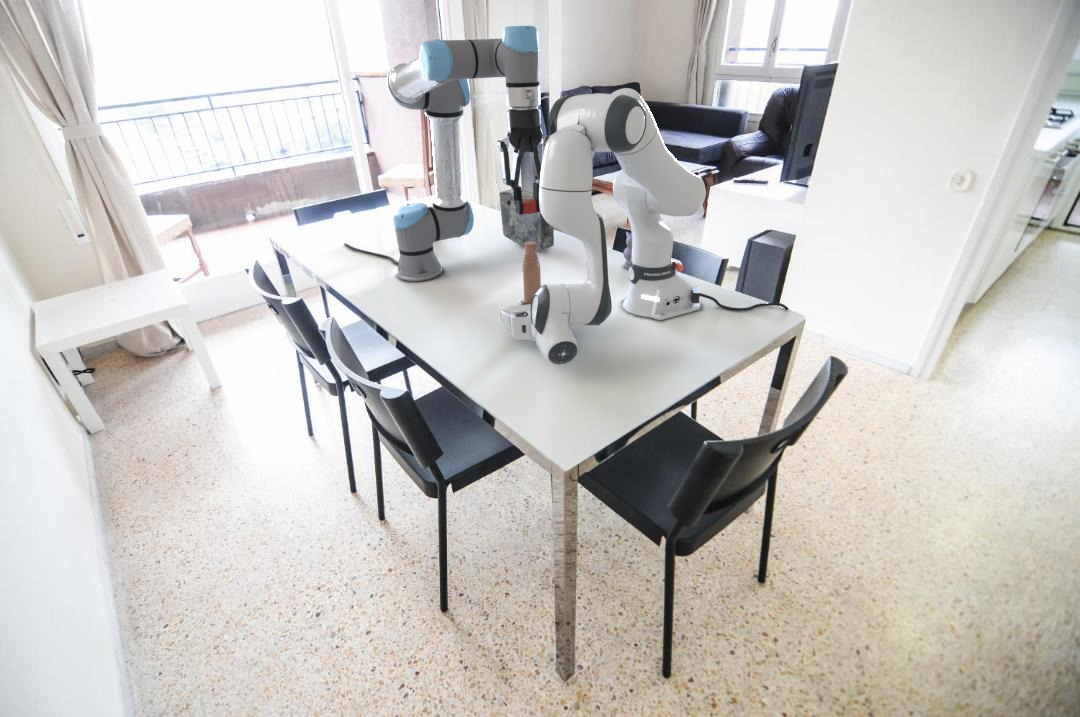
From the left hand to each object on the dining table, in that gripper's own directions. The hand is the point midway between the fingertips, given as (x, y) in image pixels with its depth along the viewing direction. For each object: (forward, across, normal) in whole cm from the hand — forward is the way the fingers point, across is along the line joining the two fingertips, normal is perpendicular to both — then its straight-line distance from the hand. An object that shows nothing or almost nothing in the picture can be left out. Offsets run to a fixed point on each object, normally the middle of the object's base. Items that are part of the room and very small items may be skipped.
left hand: (528, 211), depth 124 cm
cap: (0, 0, 0) cm, 0 cm away
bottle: (+32, 0, -1) cm, 32 cm away
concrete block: (+32, +24, +61) cm, 73 cm away
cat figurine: (+32, +49, +23) cm, 62 cm away
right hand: (+25, 0, 0) cm, 25 cm away
